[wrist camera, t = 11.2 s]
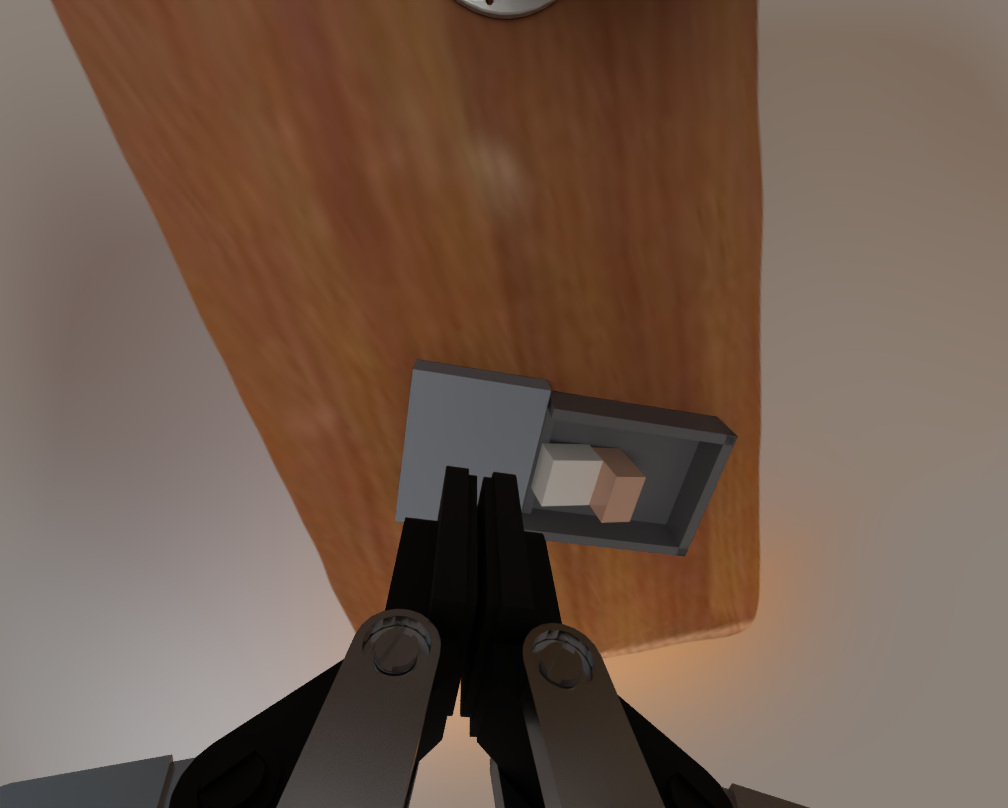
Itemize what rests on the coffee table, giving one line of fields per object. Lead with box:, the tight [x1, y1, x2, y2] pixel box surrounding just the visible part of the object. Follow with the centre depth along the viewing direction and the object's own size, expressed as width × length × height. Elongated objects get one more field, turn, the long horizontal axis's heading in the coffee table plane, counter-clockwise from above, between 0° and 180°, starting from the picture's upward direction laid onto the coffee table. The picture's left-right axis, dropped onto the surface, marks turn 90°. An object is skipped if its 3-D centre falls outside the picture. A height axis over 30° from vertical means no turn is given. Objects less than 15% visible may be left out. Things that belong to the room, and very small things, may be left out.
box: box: [521, 391, 738, 556], centre depth 46 cm, size 14×17×4 cm
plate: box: [395, 359, 551, 522], centre depth 45 cm, size 16×12×2 cm
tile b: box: [589, 447, 646, 523], centre depth 45 cm, size 5×5×3 cm
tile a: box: [531, 443, 603, 506], centre depth 45 cm, size 5×5×3 cm
